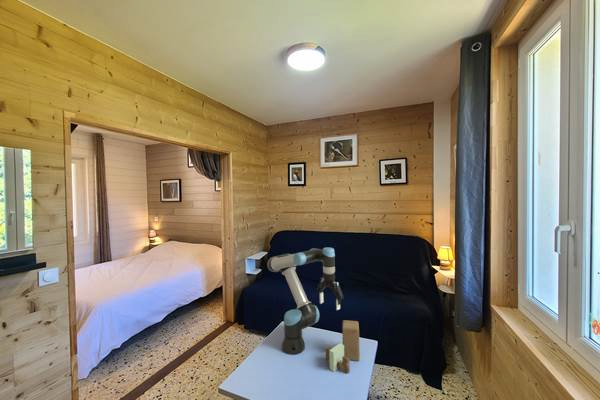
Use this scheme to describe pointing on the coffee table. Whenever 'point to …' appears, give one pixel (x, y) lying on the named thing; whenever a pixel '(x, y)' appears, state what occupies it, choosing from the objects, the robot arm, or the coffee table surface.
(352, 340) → the wooden block
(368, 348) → the coffee table surface
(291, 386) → the coffee table surface
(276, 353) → the coffee table surface
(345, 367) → the brown wooden bracket
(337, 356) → the pale green block
